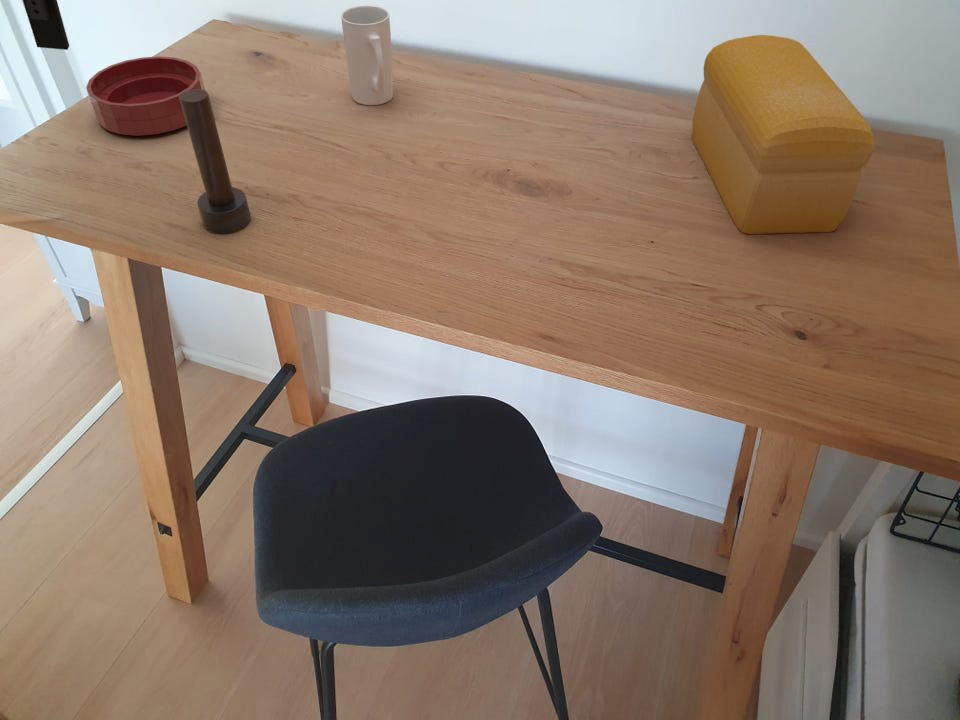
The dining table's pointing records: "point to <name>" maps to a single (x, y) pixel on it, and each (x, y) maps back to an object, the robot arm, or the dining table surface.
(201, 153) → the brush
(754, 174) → the bread
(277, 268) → the dining table surface
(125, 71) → the bowl
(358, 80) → the mug
